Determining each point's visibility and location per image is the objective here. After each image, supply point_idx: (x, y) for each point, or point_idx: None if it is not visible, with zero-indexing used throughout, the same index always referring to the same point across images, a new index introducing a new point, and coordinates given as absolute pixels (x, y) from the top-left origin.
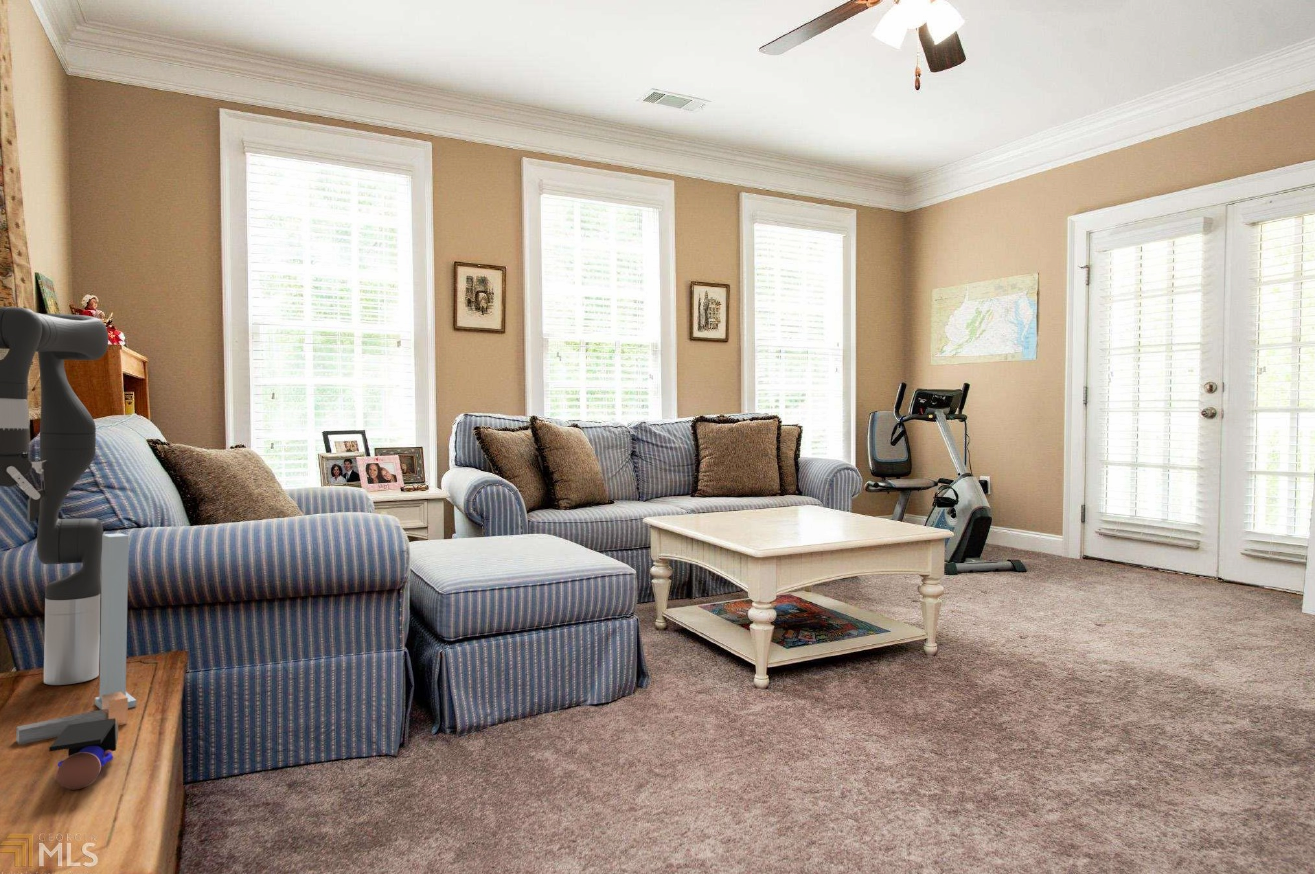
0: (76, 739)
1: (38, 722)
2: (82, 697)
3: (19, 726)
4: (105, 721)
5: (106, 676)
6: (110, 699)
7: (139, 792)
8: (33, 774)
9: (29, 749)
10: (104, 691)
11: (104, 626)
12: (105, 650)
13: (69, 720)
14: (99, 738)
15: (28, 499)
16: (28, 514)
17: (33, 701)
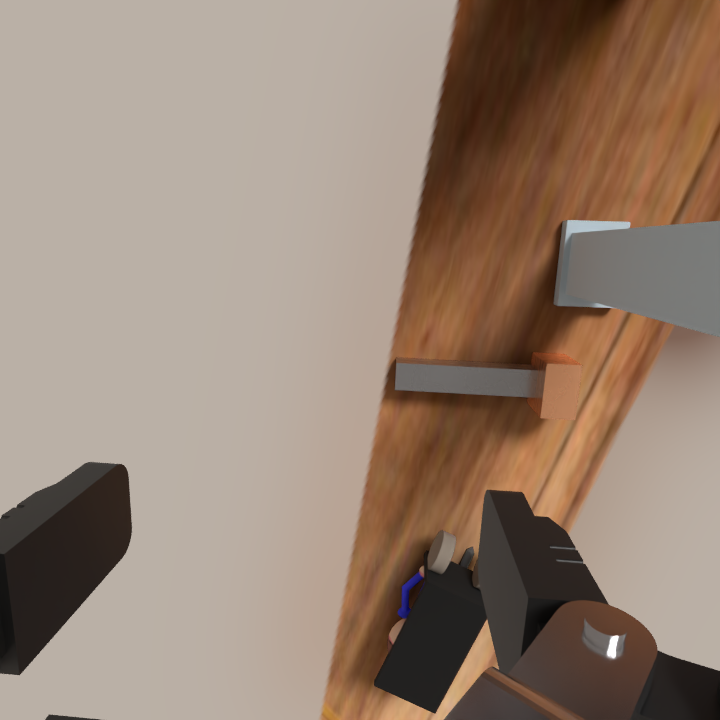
0: (411, 681)
1: (429, 366)
2: (563, 140)
3: (400, 365)
4: (473, 616)
5: (586, 297)
6: (547, 406)
7: None
8: (381, 537)
9: (401, 420)
10: (575, 278)
11: (647, 274)
12: (614, 286)
13: (472, 393)
14: (435, 708)
15: (531, 612)
16: (490, 558)
17: (481, 91)
